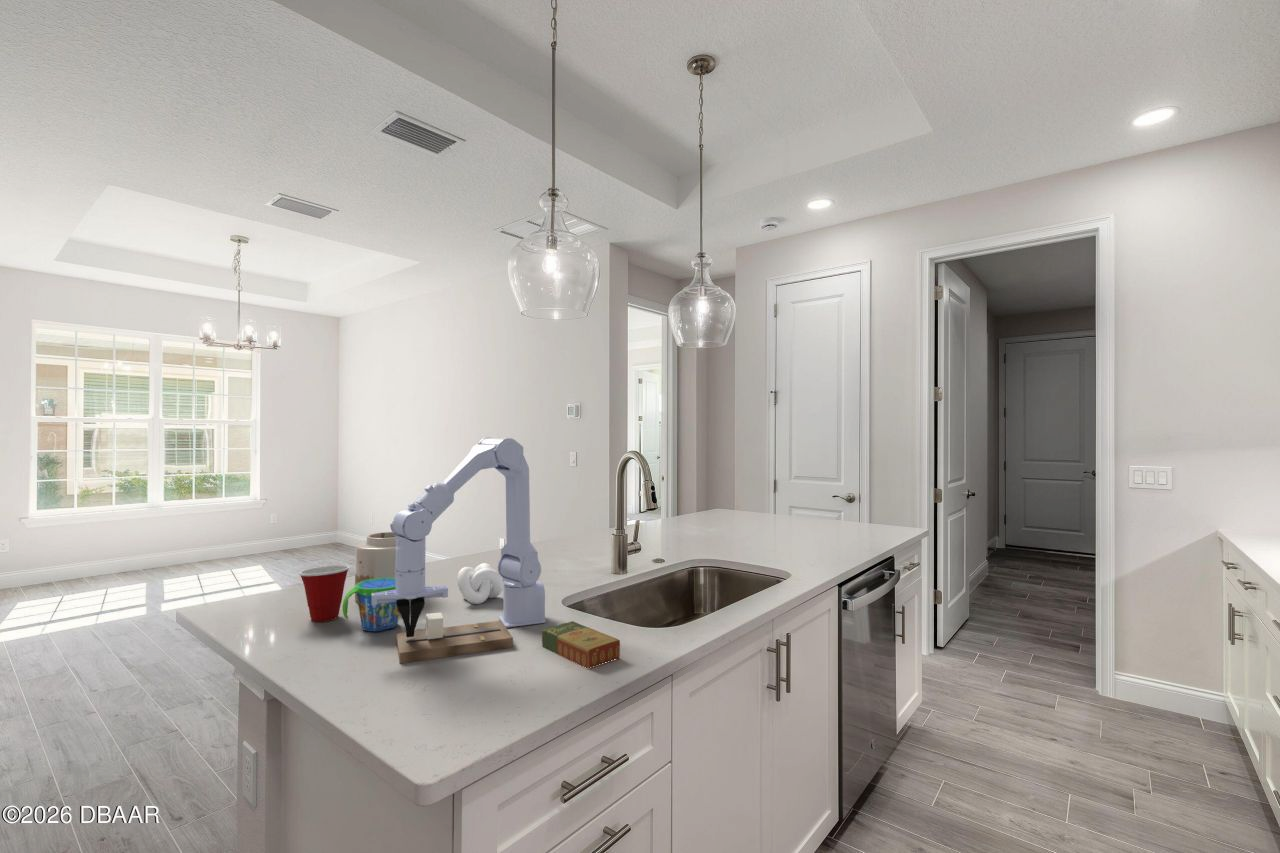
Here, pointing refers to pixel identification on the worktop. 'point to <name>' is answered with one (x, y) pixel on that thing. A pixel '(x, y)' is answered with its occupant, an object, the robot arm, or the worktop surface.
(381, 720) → the worktop surface
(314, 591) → the plastic cup
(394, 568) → the vase
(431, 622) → the fader tab
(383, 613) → the snack cup
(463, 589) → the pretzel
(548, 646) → the carton
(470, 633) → the fader console
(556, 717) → the worktop surface
